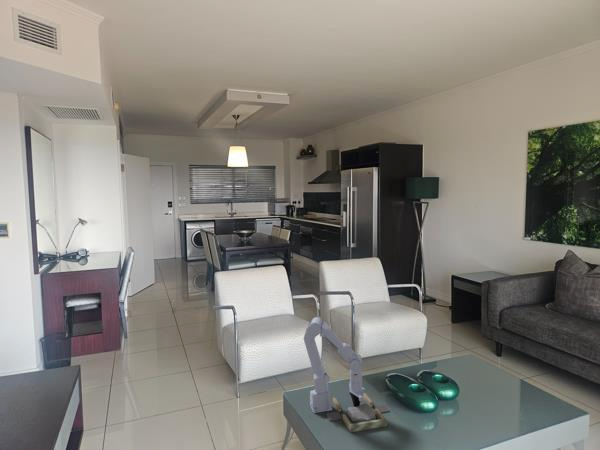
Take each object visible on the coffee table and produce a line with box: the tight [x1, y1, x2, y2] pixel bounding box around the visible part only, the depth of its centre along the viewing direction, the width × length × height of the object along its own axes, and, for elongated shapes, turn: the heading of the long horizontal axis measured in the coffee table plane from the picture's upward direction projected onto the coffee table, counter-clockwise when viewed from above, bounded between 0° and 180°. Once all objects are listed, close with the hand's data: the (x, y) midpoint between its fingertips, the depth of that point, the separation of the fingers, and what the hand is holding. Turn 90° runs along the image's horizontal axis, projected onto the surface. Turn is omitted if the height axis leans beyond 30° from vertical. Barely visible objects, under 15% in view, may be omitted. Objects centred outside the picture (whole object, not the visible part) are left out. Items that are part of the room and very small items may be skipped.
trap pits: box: [325, 404, 391, 422], centre depth 187 cm, size 30×6×1 cm, turn 103°
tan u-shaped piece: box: [332, 392, 388, 433], centre depth 186 cm, size 17×25×3 cm
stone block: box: [346, 403, 377, 423], centre depth 183 cm, size 12×5×10 cm
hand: (356, 407), depth 189 cm, fingers closed
